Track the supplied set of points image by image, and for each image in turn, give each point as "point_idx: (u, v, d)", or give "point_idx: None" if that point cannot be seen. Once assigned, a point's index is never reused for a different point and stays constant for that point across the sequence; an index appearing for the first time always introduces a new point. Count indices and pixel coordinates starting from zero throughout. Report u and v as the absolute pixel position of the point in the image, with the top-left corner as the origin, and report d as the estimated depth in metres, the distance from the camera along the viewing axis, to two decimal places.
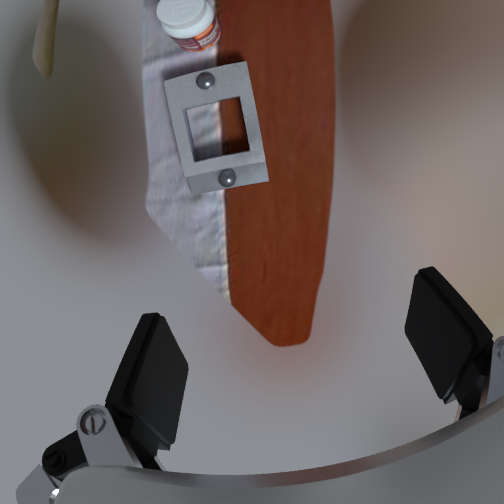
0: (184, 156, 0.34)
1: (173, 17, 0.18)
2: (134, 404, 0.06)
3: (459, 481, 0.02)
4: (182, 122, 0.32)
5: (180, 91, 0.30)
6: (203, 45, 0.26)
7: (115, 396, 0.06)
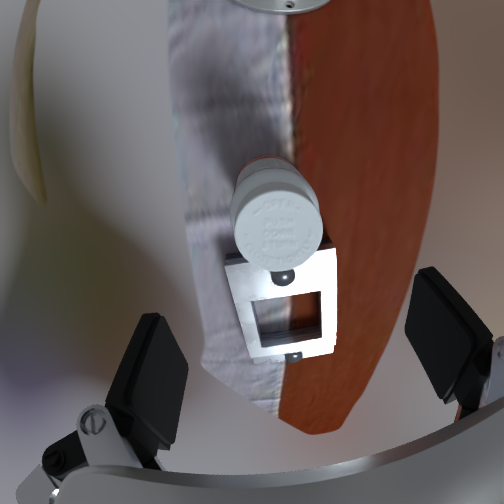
0: (251, 342, 0.32)
1: (269, 256, 0.16)
2: (134, 404, 0.06)
3: (459, 481, 0.02)
4: (250, 314, 0.29)
5: (248, 282, 0.27)
6: None
7: (115, 396, 0.06)
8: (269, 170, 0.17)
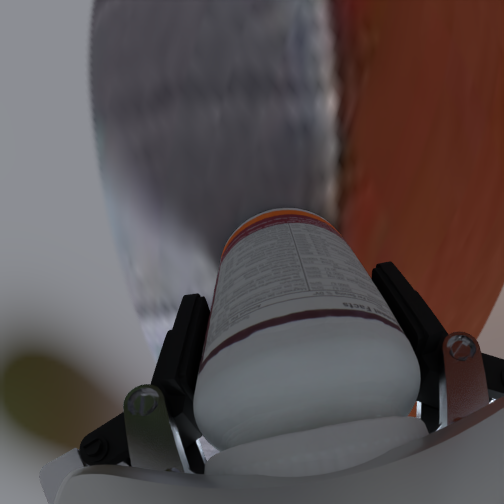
0: None
1: None
2: (187, 380, 0.06)
3: (459, 481, 0.02)
4: None
5: None
6: None
7: (168, 373, 0.06)
8: (313, 337, 0.05)
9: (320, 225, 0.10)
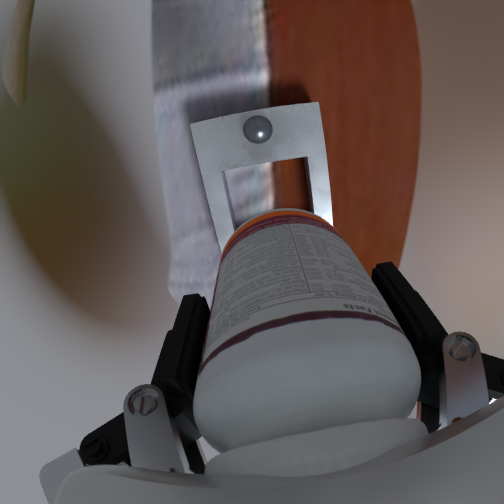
0: (224, 239, 0.26)
1: None
2: (187, 380, 0.06)
3: (459, 481, 0.02)
4: (221, 191, 0.23)
5: (217, 143, 0.21)
6: None
7: (168, 373, 0.06)
8: (314, 339, 0.05)
9: (320, 226, 0.10)
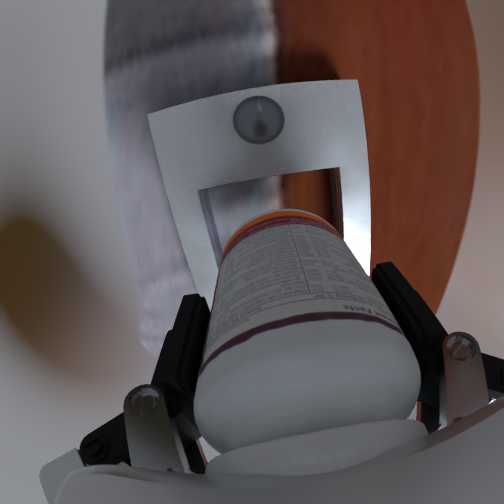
0: (207, 292, 0.17)
1: None
2: (187, 380, 0.06)
3: (459, 481, 0.02)
4: (199, 222, 0.15)
5: (191, 144, 0.13)
6: None
7: (168, 372, 0.06)
8: (314, 340, 0.05)
9: (320, 226, 0.10)
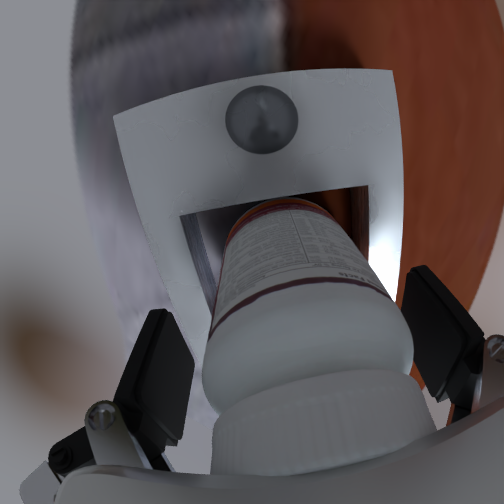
0: (198, 336, 0.13)
1: None
2: (143, 399, 0.06)
3: (459, 481, 0.02)
4: (184, 257, 0.11)
5: (170, 154, 0.09)
6: None
7: (124, 391, 0.06)
8: (313, 298, 0.05)
9: (318, 212, 0.11)
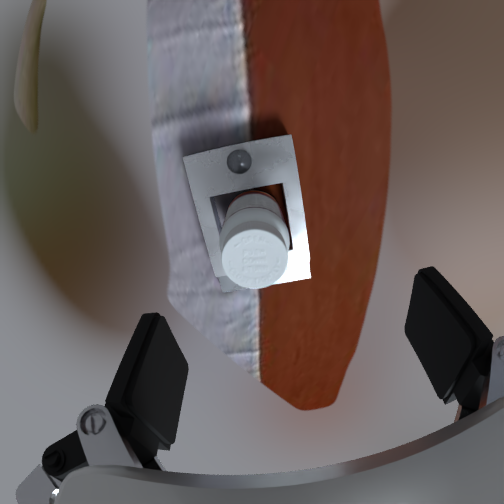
0: (214, 254, 0.30)
1: (248, 277, 0.21)
2: (134, 404, 0.06)
3: (459, 481, 0.02)
4: (210, 214, 0.28)
5: (206, 173, 0.26)
6: None
7: (115, 396, 0.06)
8: (248, 210, 0.22)
9: (263, 194, 0.28)
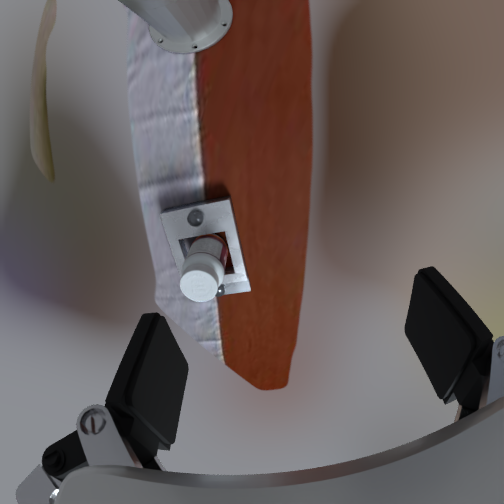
0: None
1: (195, 295, 0.36)
2: (134, 404, 0.06)
3: (459, 481, 0.02)
4: (179, 250, 0.42)
5: (175, 225, 0.41)
6: None
7: (115, 396, 0.06)
8: (197, 255, 0.37)
9: (213, 238, 0.42)
